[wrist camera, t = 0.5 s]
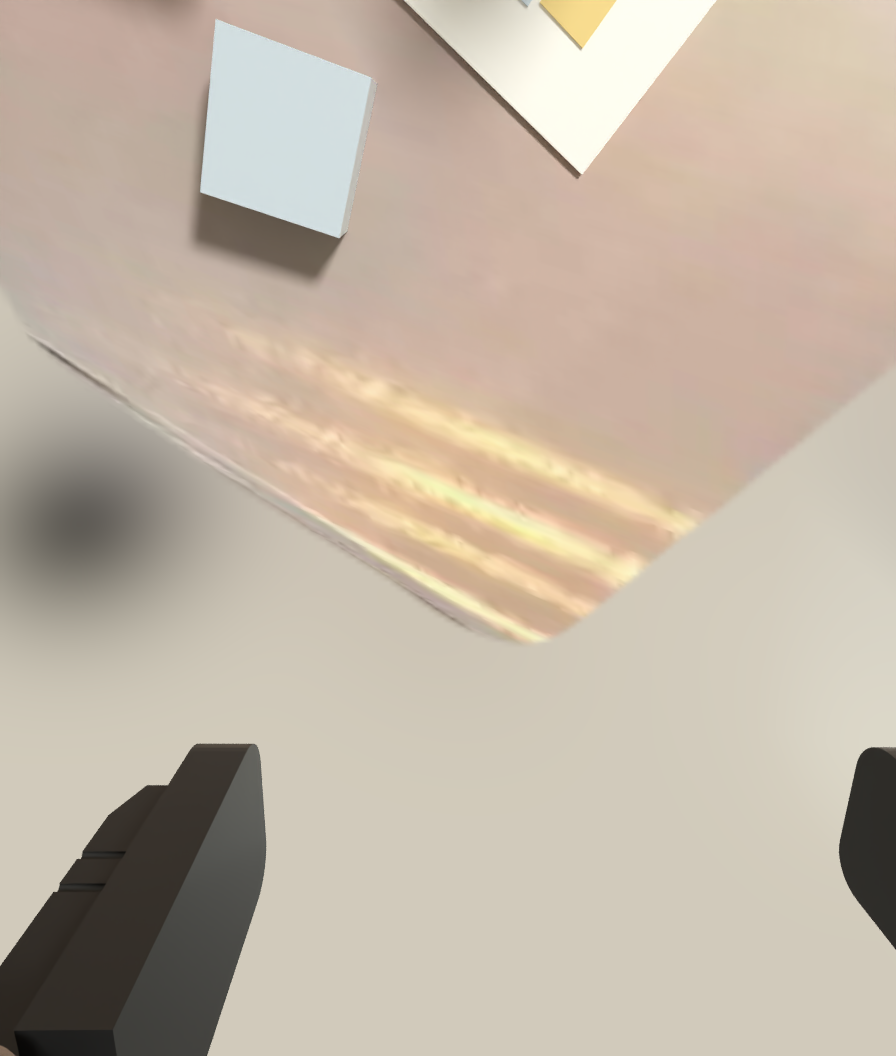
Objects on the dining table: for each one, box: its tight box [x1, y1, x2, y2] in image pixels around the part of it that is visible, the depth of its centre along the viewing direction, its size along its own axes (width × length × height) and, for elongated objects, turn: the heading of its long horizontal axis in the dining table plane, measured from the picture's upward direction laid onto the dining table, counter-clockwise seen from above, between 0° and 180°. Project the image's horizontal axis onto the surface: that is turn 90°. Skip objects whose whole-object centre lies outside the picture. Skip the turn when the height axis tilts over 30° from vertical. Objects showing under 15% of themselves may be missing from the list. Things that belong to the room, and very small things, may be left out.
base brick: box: [200, 19, 377, 238], centre depth 26 cm, size 6×6×3 cm
